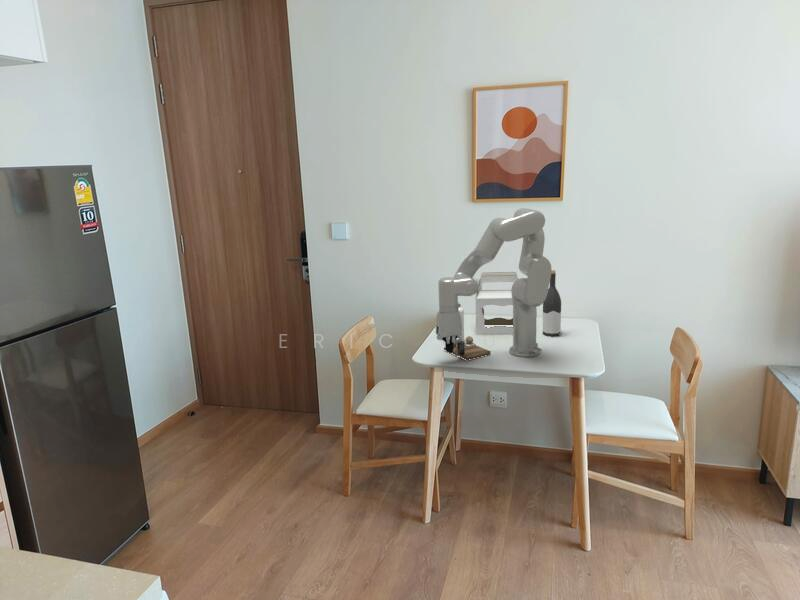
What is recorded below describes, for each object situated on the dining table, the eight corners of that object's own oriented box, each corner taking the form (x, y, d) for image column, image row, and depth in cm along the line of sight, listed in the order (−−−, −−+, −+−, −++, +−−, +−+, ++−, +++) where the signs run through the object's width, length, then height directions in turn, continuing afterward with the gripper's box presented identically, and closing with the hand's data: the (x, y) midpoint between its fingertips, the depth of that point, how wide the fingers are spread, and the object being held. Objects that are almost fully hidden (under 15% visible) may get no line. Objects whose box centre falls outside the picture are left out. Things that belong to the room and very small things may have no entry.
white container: (465, 338, 259) (464, 300, 255) (462, 344, 252) (461, 305, 247) (447, 337, 262) (446, 300, 257) (444, 343, 254) (443, 304, 249)
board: (490, 354, 237) (490, 340, 236) (466, 361, 231) (466, 346, 230) (467, 344, 251) (466, 331, 249) (444, 350, 245) (443, 336, 243)
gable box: (475, 334, 264) (474, 276, 257) (475, 326, 277) (474, 270, 270) (524, 334, 262) (524, 274, 255) (521, 325, 274) (522, 269, 267)
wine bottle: (558, 331, 263) (560, 268, 255) (562, 336, 255) (563, 271, 248) (541, 331, 264) (542, 268, 256) (543, 337, 256) (544, 272, 249)
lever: (452, 343, 246) (452, 332, 245) (462, 342, 246) (462, 331, 245) (457, 355, 232) (456, 343, 230) (467, 354, 232) (466, 343, 230)
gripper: (460, 303, 232) (461, 346, 237) (427, 308, 227) (429, 351, 232) (469, 308, 225) (470, 351, 230) (435, 313, 220) (436, 357, 225)
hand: (449, 351), depth 231 cm, fingers closed
